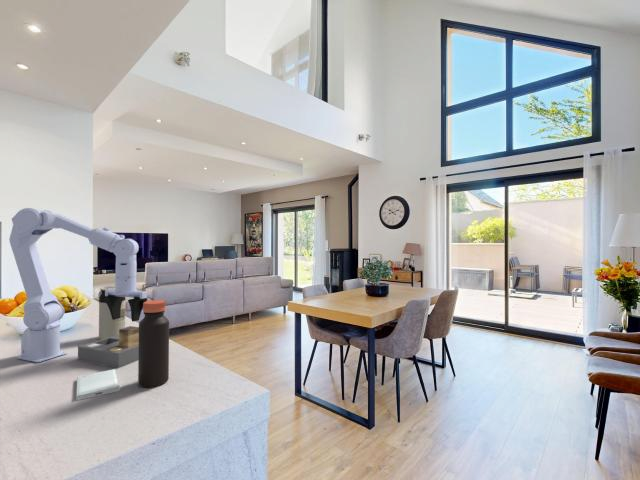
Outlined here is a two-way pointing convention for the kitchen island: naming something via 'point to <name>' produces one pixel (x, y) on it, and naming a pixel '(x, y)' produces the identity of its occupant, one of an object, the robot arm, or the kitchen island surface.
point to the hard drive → (97, 384)
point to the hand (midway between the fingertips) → (125, 319)
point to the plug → (129, 337)
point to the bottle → (153, 345)
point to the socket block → (108, 353)
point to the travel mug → (109, 317)
